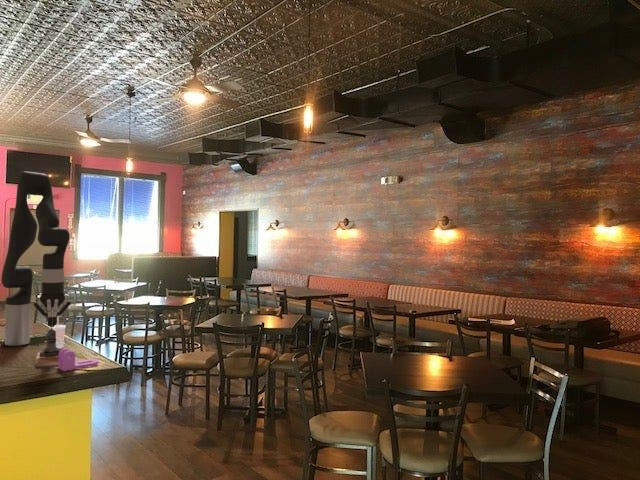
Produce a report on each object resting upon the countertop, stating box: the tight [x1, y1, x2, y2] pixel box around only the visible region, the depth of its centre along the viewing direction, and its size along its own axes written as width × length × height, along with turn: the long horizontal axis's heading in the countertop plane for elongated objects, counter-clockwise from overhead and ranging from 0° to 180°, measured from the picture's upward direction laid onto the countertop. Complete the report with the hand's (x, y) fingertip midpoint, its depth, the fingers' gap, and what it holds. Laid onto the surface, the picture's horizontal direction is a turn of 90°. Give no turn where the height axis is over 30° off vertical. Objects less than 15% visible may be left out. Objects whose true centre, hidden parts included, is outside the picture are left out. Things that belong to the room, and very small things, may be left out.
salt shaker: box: [41, 328, 61, 357], centre depth 192 cm, size 6×6×12 cm
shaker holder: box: [35, 350, 60, 368], centre depth 192 cm, size 11×10×3 cm
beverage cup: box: [49, 315, 67, 349], centre depth 214 cm, size 6×6×14 cm
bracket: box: [57, 347, 99, 372], centre depth 187 cm, size 13×6×7 cm, turn 135°
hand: (52, 326), depth 192 cm, fingers closed
